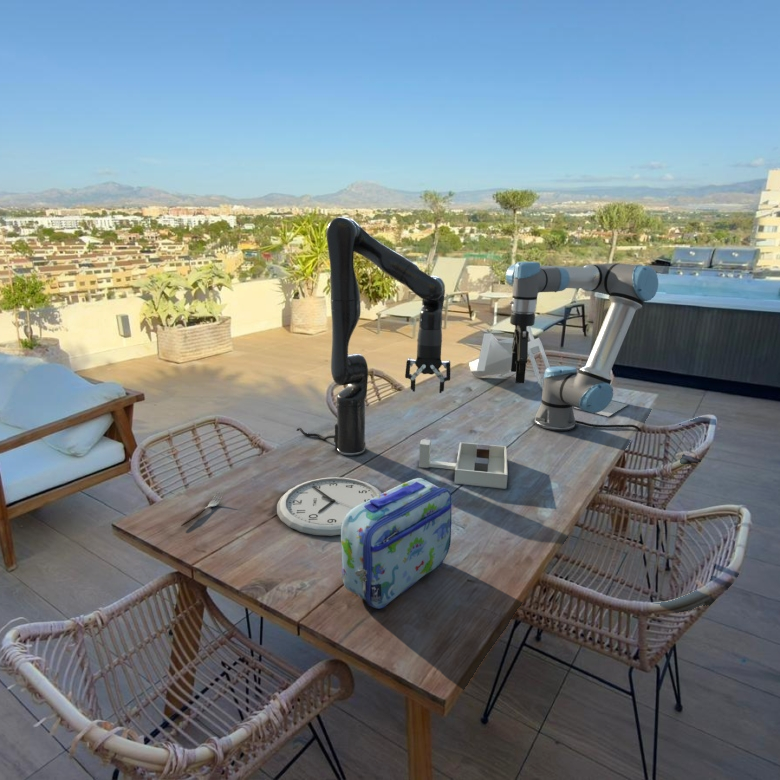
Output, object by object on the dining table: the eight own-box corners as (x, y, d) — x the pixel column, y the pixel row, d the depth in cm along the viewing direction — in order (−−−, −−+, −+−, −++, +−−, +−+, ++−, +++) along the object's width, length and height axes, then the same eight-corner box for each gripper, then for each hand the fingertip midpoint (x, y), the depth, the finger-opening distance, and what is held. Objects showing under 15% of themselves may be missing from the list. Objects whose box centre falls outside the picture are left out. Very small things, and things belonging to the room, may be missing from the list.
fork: (176, 526, 131) (176, 519, 130) (217, 497, 145) (217, 491, 145) (185, 528, 130) (184, 521, 130) (225, 499, 145) (224, 492, 144)
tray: (505, 459, 173) (507, 436, 171) (506, 488, 154) (508, 464, 151) (424, 451, 178) (425, 429, 176) (415, 479, 158) (415, 455, 156)
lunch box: (370, 622, 101) (370, 527, 94) (335, 595, 108) (333, 505, 102) (455, 565, 118) (460, 481, 112) (420, 544, 125) (423, 465, 119)
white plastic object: (489, 418, 267) (470, 395, 242) (471, 346, 289) (451, 318, 264) (561, 394, 254) (547, 368, 230) (535, 321, 277) (521, 289, 252)
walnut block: (488, 459, 172) (489, 445, 170) (488, 464, 168) (489, 449, 167) (476, 457, 172) (477, 444, 171) (475, 463, 169) (476, 448, 167)
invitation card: (608, 416, 214) (573, 407, 224) (608, 416, 214) (573, 407, 224) (627, 404, 229) (594, 396, 238) (627, 405, 229) (594, 397, 239)
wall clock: (392, 527, 129) (269, 531, 127) (392, 533, 130) (269, 537, 127) (383, 473, 158) (282, 475, 155) (383, 478, 158) (283, 480, 156)
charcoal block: (487, 473, 162) (488, 458, 160) (487, 479, 158) (488, 464, 157) (474, 472, 162) (475, 457, 161) (473, 477, 159) (474, 462, 157)
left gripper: (452, 340, 165) (449, 389, 170) (407, 338, 167) (405, 386, 172) (452, 346, 158) (449, 396, 163) (405, 343, 160) (403, 394, 165)
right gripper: (507, 306, 177) (502, 366, 183) (515, 318, 153) (509, 387, 159) (530, 306, 176) (524, 367, 182) (541, 319, 152) (534, 388, 159)
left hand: (427, 391), depth 167 cm, fingers open, 8 cm apart
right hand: (517, 377), depth 171 cm, fingers open, 13 cm apart
